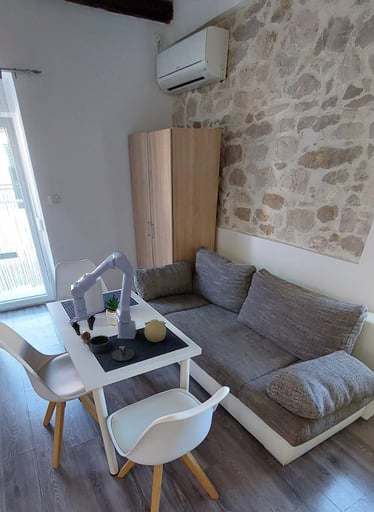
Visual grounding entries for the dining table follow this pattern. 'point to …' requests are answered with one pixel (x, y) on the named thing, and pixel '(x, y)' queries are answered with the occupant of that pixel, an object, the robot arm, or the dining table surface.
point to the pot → (100, 344)
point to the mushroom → (85, 336)
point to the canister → (94, 297)
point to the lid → (122, 354)
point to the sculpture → (155, 330)
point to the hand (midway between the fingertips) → (85, 332)
